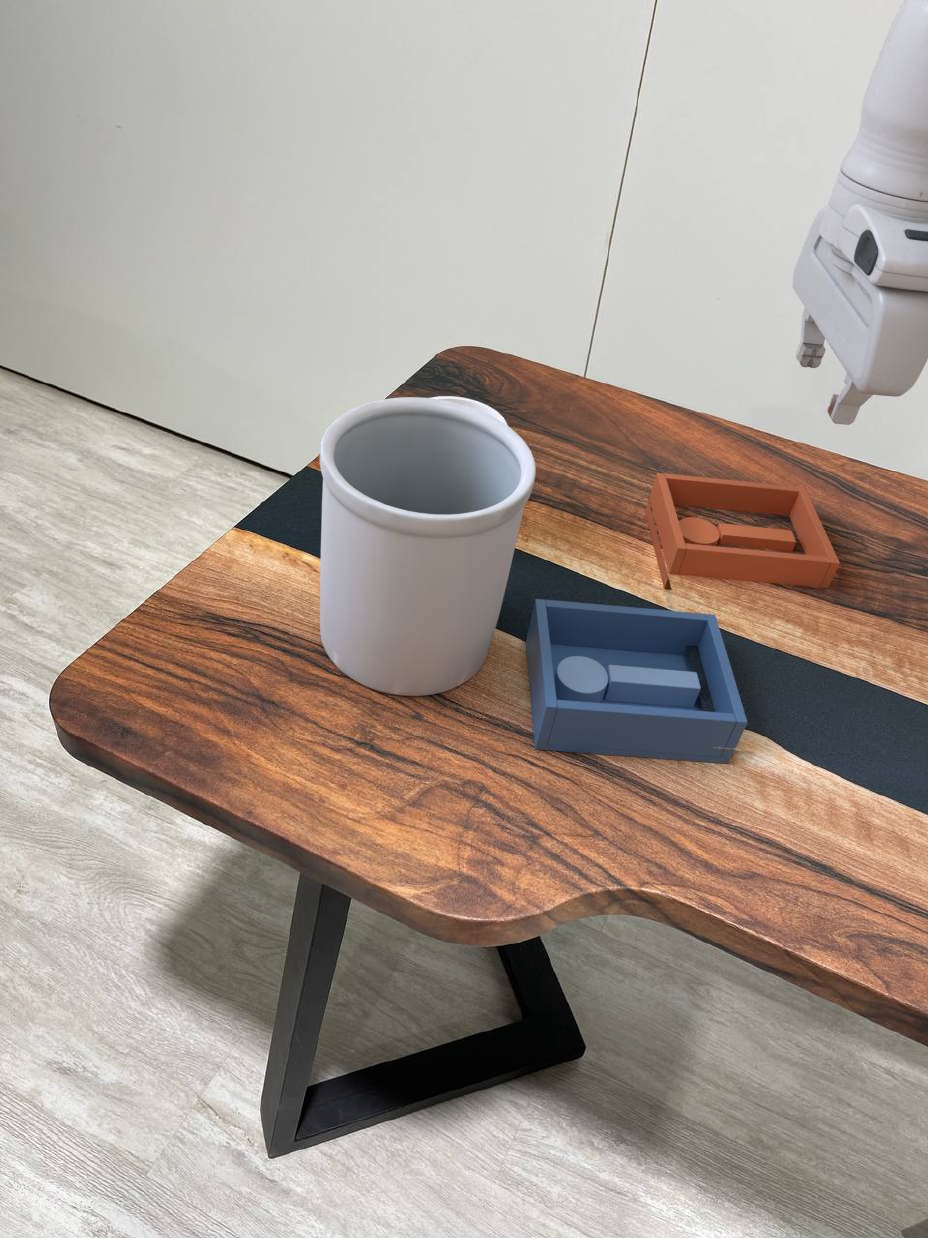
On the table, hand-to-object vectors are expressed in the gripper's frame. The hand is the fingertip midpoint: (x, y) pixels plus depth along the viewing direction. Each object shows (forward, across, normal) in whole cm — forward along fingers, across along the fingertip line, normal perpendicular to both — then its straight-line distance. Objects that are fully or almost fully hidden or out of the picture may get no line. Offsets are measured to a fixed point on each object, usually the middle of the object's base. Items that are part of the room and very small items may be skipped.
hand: (821, 390), depth 83 cm
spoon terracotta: (+17, -1, -3) cm, 17 cm away
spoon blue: (+17, +20, -16) cm, 30 cm away
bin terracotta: (+18, 0, -3) cm, 18 cm away
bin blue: (+18, +20, -16) cm, 31 cm away
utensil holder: (+18, +15, -33) cm, 40 cm away
